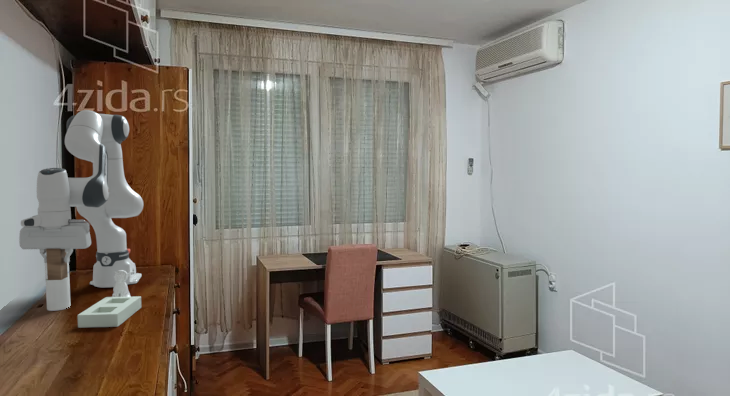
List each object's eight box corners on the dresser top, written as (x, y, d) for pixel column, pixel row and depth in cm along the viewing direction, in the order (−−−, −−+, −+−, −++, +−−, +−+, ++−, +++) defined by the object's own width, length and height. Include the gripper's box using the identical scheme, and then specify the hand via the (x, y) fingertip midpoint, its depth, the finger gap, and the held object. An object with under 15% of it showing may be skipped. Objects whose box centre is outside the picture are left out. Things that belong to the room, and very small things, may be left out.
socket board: (106, 308, 172) (105, 297, 171) (141, 307, 173) (141, 296, 172) (78, 327, 152) (77, 315, 151) (117, 326, 153) (117, 314, 152)
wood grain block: (54, 277, 157) (53, 246, 156) (67, 276, 157) (66, 246, 156) (47, 280, 153) (46, 248, 152) (61, 279, 153) (59, 248, 152)
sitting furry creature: (103, 306, 173) (101, 273, 172) (109, 300, 182) (107, 268, 181) (132, 304, 176) (131, 272, 175) (136, 298, 184) (135, 267, 183)
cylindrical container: (59, 311, 168) (55, 239, 166) (41, 310, 169) (38, 239, 167) (75, 305, 175) (72, 236, 173) (58, 304, 176) (55, 236, 174)
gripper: (93, 218, 157) (95, 260, 159) (27, 218, 156) (29, 260, 157) (84, 220, 151) (86, 264, 152) (14, 221, 149) (17, 265, 151)
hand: (57, 262), depth 155 cm, fingers closed on wood grain block, 4 cm apart
